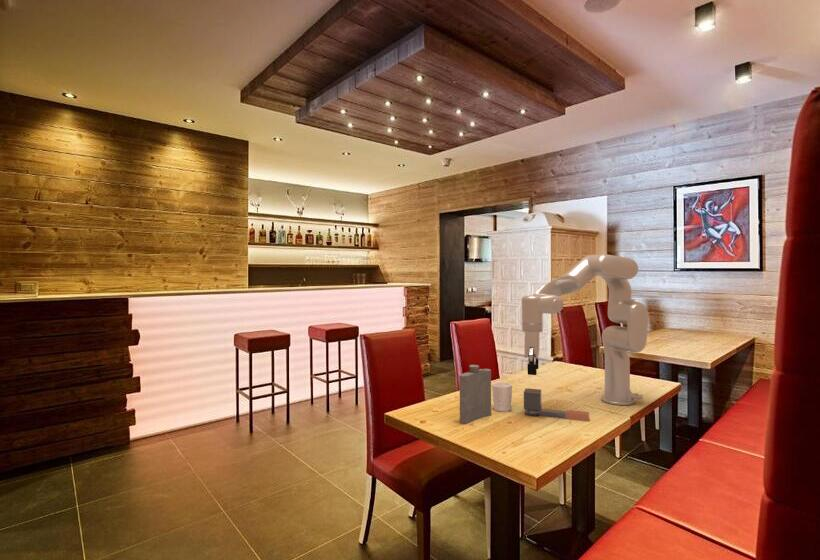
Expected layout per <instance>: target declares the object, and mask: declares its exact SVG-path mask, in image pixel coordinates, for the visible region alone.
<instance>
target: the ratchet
mask: <svg viewBox="0 0 820 560" xmlns="http://www.w3.org/2000/svg"><path fill="white" fill-rule="evenodd" d="M524 411H525V413H524V415H526V416H529V417H543V418H554V419H562V420H563V419H564V420H570V421H571V420H572V421H578V422H579V421H581V422H588V421H589V422H590V411H582V410H573V409H572V410H571V409H570V410H569V409H565V410H558V409H548V408H541V410H540V411H537V410H527V409H524Z"/></svg>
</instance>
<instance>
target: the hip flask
mask: <svg viewBox="0 0 820 560" xmlns="http://www.w3.org/2000/svg"><path fill="white" fill-rule="evenodd" d="M468 368H469V371H467V372H464V373H461V374H459V423H460V424H462V425H467V424H470V423H472V422H474V421H477V420H479V419H482V418H487V417H490V416H492V370H491V368H490V369H489V368H480V365H478V364H470V365H469V367H468Z"/></svg>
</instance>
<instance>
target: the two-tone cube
mask: <svg viewBox="0 0 820 560" xmlns="http://www.w3.org/2000/svg"><path fill="white" fill-rule="evenodd" d="M525 409H527V410H537V411H540V410H541V409H542V389H540V388H539V389H537V388H527V387H526V388H525V389H524V391H523V410H525Z"/></svg>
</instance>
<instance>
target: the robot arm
mask: <svg viewBox="0 0 820 560" xmlns="http://www.w3.org/2000/svg"><path fill="white" fill-rule="evenodd" d="M638 272H639V265H638V263H637V261H636V260H634V259H633V258H630V257H625V256H619V255H613V254H606V253H602V254H589V255H586V256H583V258H581V259H580V260H579V261H578V262H577V263H576V264H575V265H574V266H572V267H571V268H570V269H569V270H567V272H565V273H564V274H563V275H560V276H559V277H557V278H555V279H553V280H551V281H549V282H547V283H545V284H544V285H542V286H541V287H540V288H539V289H538V290H536V291H535V292H534V293H533V294H532V295H531V294H530V295H524V296H523V297H522V298H521V326H522V327H521V331H522V332H523V333H524V358H525V359H527V375H528V376H537V370H539V355H540V345H541V344H540V333H543V329H544V328H543V314H548V315H549V314H550V315H555V314H558V313H560V312H561V311H562V310H563V308H564V300H563V299H562V298H561V297H562V296H564V295H569V294H573V293H577V292H578V291H579V292H580V290H582V289H583V288H584V287H585V286H586V285H587V284H588V283H589V282H590V281H591V280H593V279H594V278H595V277H596V276H600V277H601V278H602V279H603V280H604V281H605V283H606V285H607V289H608V302H607V317H608V319H609V320H610V321H611V322H613V323H617V324H624V325H627V327H625V326H619V325H610V326H607V327H605V329H603V331H602V333H601V341H602V346H603V351H604V394H602V395H601V396H600V400H601V401H602V402H603V403H604V402H605V403H607V404H610V405H614V406H615V405H616V406H617V405H618V406H631V405H633V404H634V403H635V399H636V400H643V399H644V396H643V394H639V393H633V392H632V391H631V385H630V384H631V371H630V370H631V368H630V367H631V359H630V356H629V354H628V352H630V353H641V352H642V351H643V350H644V349H645V348H646V345H647V340H648V327H649V326H648V325H649V311H648V309H647V307H646V305H644V304H643V302H640V301H632V286H631V284H630V282H629V280H631V279H633V278H636V276H637V274H638Z"/></svg>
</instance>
